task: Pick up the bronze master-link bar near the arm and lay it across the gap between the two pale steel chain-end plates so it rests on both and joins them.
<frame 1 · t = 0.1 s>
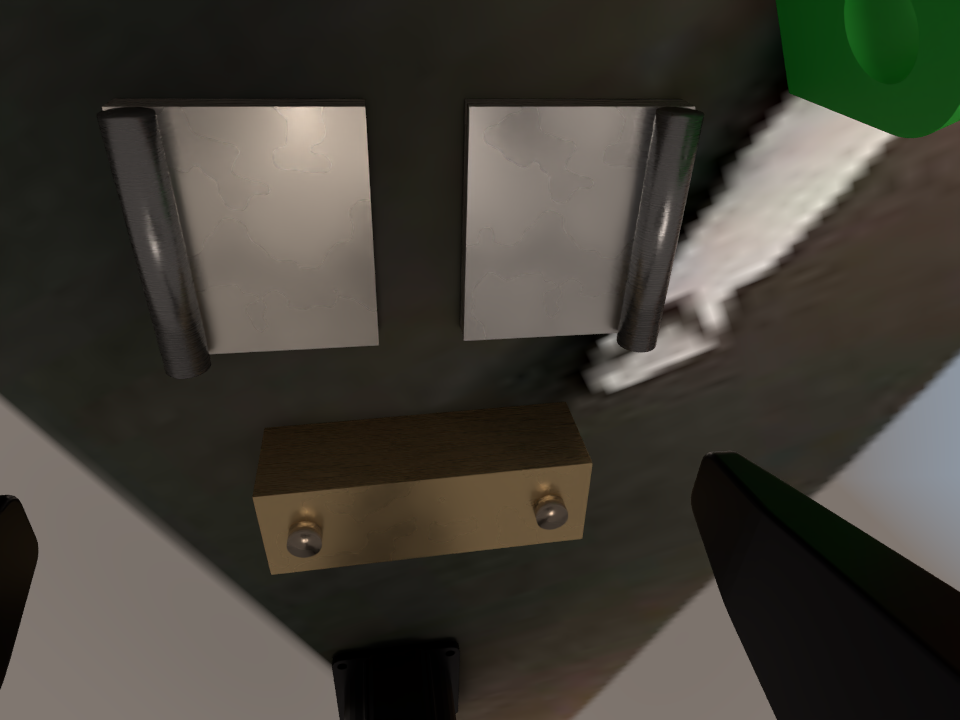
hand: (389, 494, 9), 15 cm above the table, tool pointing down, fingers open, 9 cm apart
chain end 1: (262, 229, 22), on the table
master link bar: (421, 448, 28), on the table
chain end 2: (563, 221, 23), on the table
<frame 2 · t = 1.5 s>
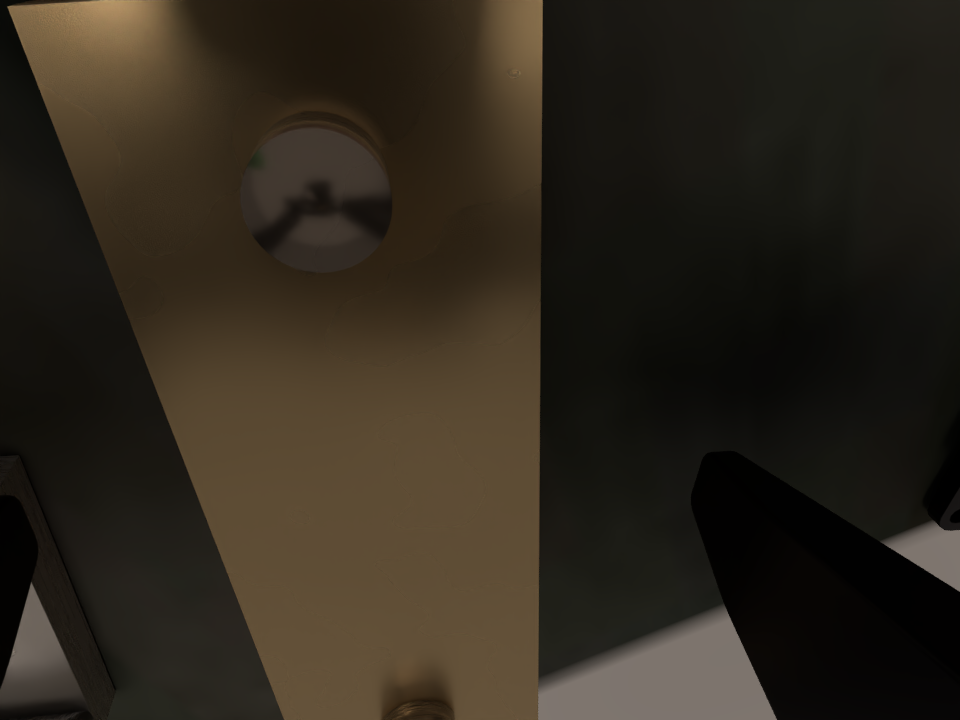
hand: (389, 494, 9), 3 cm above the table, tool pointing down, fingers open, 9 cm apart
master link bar: (375, 359, 12), on the table
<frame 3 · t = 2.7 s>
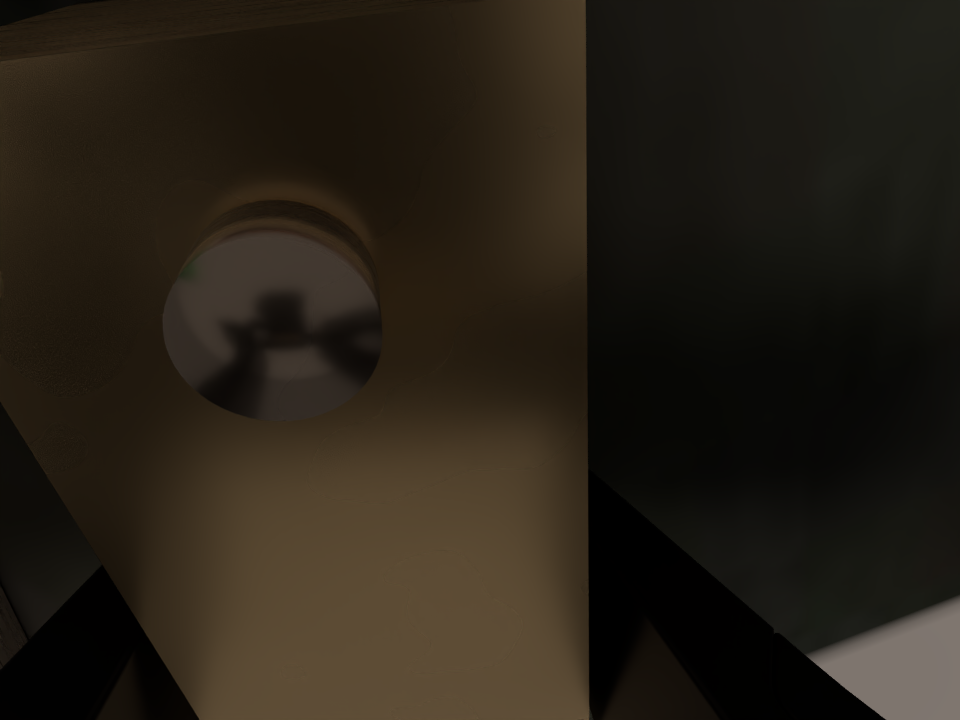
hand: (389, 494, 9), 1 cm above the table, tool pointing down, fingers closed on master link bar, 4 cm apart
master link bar: (384, 431, 10), on the table, touching gripper
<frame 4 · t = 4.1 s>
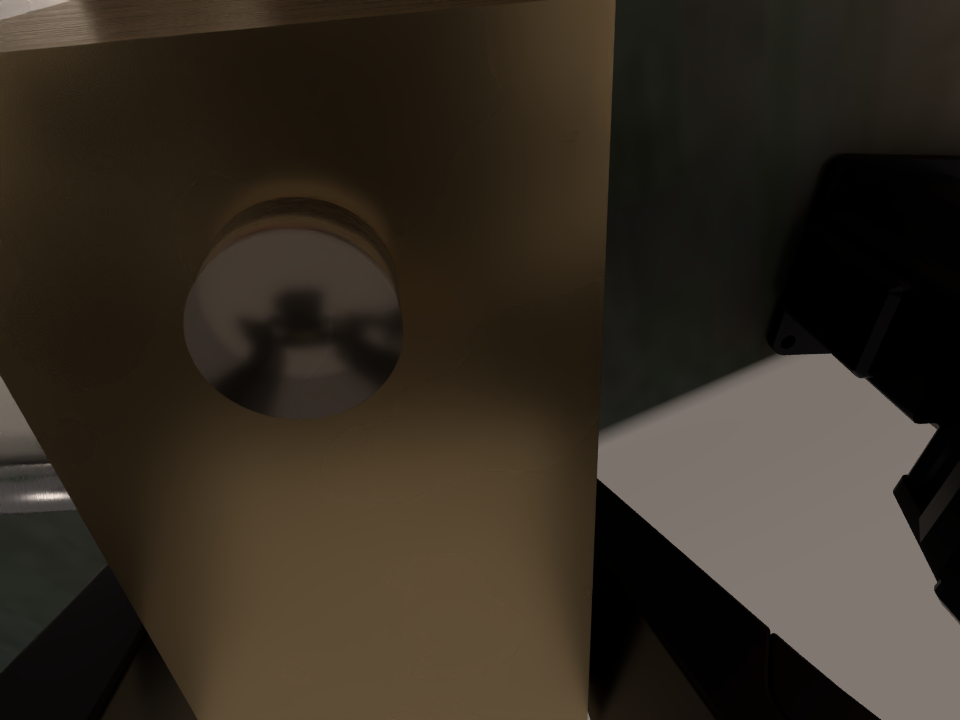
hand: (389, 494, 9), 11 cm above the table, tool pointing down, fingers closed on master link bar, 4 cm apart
chain end 1: (22, 376, 19), on the table
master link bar: (384, 432, 10), point 9 cm above the table, touching gripper
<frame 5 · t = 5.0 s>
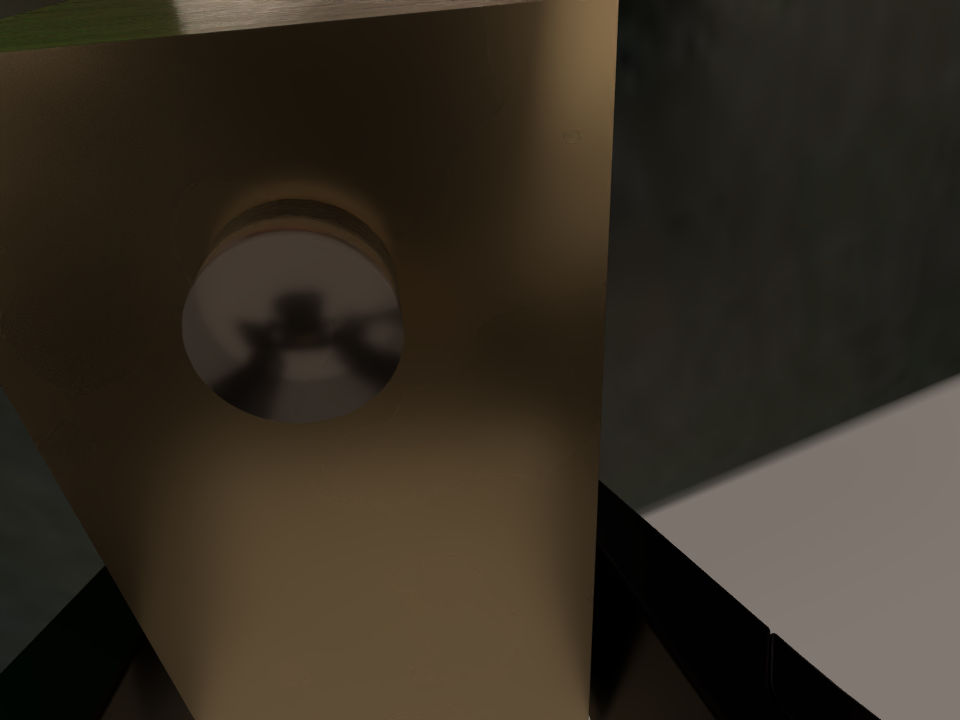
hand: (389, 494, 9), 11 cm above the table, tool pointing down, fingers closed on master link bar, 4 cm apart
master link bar: (384, 433, 10), point 9 cm above the table, touching gripper
when the fingers open (3 cm above the table, at t = 6.9 s): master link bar drops 1 cm, resting on chain end 1, chain end 2.
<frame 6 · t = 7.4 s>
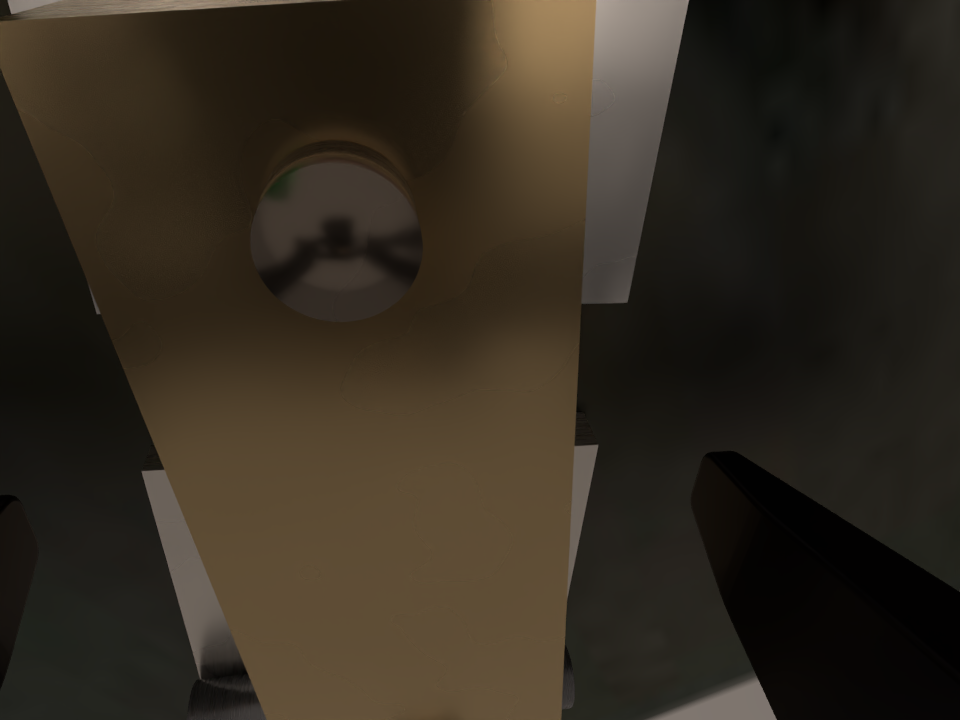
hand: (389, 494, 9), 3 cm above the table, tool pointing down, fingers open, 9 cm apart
chain end 1: (383, 549, 15), on the table
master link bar: (386, 387, 11), point 1 cm above the table, touching chain end 1, chain end 2
chain end 2: (371, 48, 9), on the table
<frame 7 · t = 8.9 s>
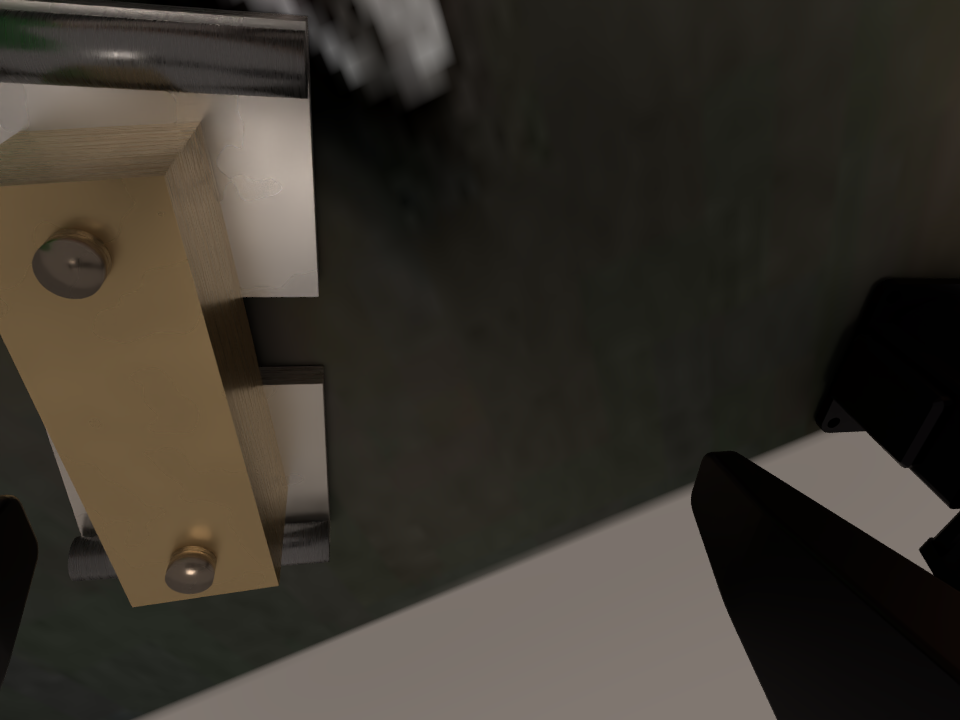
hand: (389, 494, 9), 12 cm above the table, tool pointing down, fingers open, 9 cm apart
chain end 1: (204, 455, 22), on the table
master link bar: (179, 343, 19), point 1 cm above the table, touching chain end 1, chain end 2
chain end 2: (152, 156, 17), on the table
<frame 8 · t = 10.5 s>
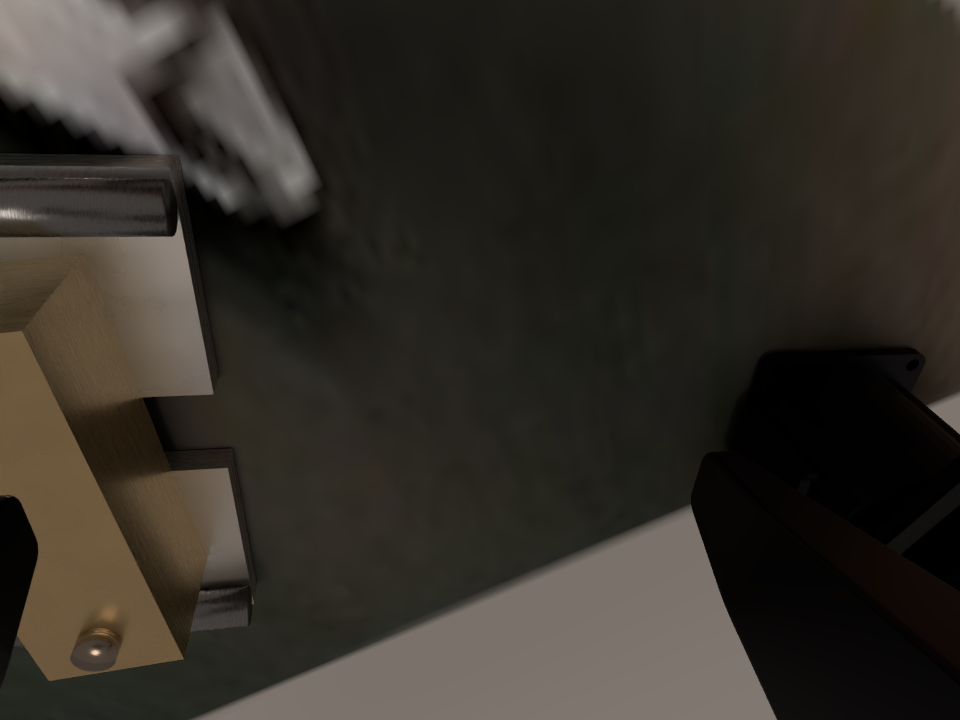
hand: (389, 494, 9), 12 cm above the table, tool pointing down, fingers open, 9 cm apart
chain end 1: (130, 528, 24), on the table
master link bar: (88, 438, 21), point 1 cm above the table, touching chain end 1, chain end 2
chain end 2: (50, 278, 19), on the table
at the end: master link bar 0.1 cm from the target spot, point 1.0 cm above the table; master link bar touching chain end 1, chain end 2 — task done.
